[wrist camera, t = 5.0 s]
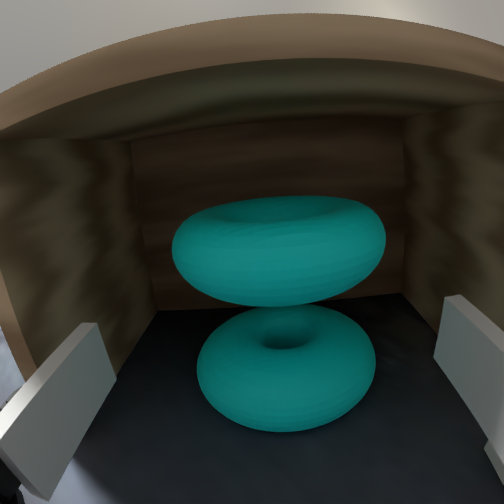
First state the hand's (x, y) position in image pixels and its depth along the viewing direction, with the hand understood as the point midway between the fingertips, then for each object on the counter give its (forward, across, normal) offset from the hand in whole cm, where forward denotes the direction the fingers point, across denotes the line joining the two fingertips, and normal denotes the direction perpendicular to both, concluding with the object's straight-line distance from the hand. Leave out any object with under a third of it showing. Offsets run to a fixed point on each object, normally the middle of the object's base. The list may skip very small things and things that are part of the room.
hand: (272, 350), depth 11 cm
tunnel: (+8, +1, -6) cm, 10 cm away
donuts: (+5, +1, -6) cm, 8 cm away
